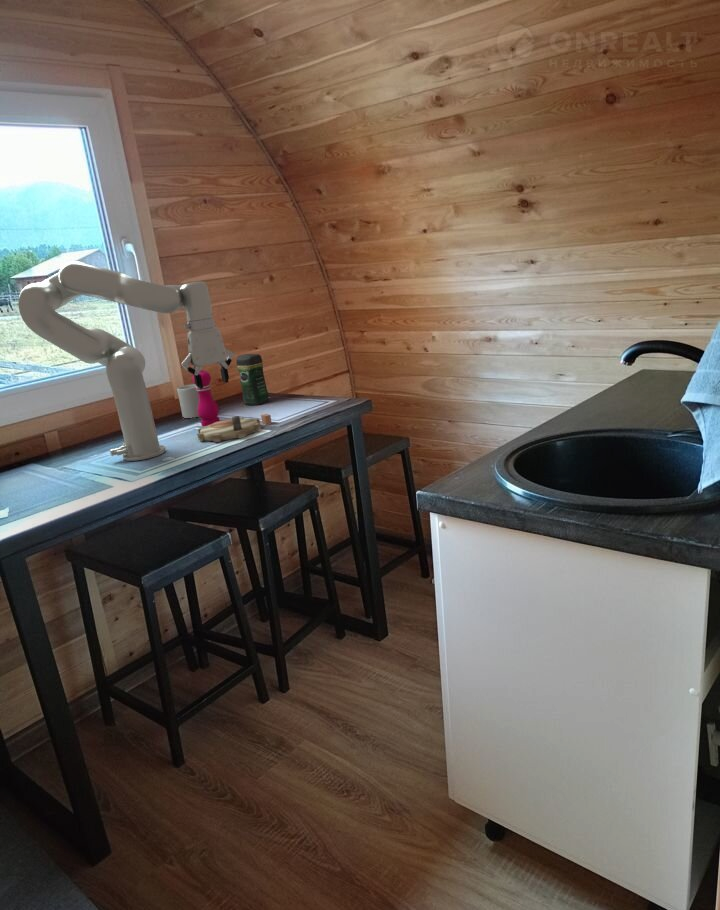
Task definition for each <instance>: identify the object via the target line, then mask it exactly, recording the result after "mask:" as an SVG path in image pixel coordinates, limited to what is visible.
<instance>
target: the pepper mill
mask: <svg viewBox="0 0 720 910" xmlns="http://www.w3.org/2000/svg"><path fill="white" fill-rule="evenodd" d="M199 375H201V378H202V383H203V388H198V387H197V386H196V390H197V391H198V394H199V405H198V416H199V418H200V419H201V420H200V424H201V426H202V427H204V426H208V425H211V424H213V423H214V422H218V421H221V420H220V417H219V416H218V415H219V413H220V409H219V406H218V404H217V403H216V400H215V399H214V398H213V396H212V393H211V389H212V386H211V383H210V382H211V381H212V378H211V377H212V376H211V374H210V372H208V371H207V370H203V366H201V368H200V371H199ZM192 382H193V384H195V379H194V375H193V374H192ZM195 385H196V384H195Z"/></svg>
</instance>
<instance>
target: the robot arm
mask: <svg viewBox="0 0 720 910" xmlns="http://www.w3.org/2000/svg"><path fill="white" fill-rule="evenodd" d="M209 293H210V292H209V287H208V284H207V283H206V282H205V281H193V282H192V281H191V282H188V283H184V284H166V285H161V284H158V283H157V284H156V283H152V282H149V281H145V280H142V279H136V278H134V277H131V276H130V275H128V274H126V273H124V272H120V271H119V270H118V271H117V270H113V269H108V268H104V267H99V266H94V265H90V264H88V263H87V262H83V261H68V262H66V263H64V264H63V265H62V266H61V267H60V269H59V271H58V272H57V273H55V274H54V275H52V276H50V277H48V278H46V279H44V280H43V281H41V282H33V283H29V284H28V285H26V286H25V287H24V288H23V289H22V290H21V291H20V294H19V295H18V303H17V304H18V305H17V306H18V310H19V314H20V318H21V319H22V321H23V322H24V324H25V325H26V326H27V328H28V329H30V331H31V332H33V333H35V335H37V336H38V337H40V338H42V339H43V340H45V341H47V342H49V343H50V344H53V345H54V346H56V348H59V349H61V350H62V351H64V352H66V353H68V354H69V355H71V356H73V357H75V358H76V359H78V360H79V361H81V362H83V363H85V364H97V363H98V364H100V365H102V366H104V367H105V369H106V376H107V380H108V382H109V385H110V386H109V387H110V388H111V391H112V396H113V398H114V399H113V400H114V403H115V406H116V410H117V416H118V419H119V424H120V428H121V432H122V436H123V440H124V442H122V445H120V446H119V447H117V448H116V447H115V448H112V449H109V453H110V455H111V457H114V456H122V458H123V460H124V461H128V462H135V461H136V462H138V461H142V460H143V461H144V460H148V459H151V458H155V457H157V456H161V455H163V454H164V453H165V452H166V450H167V449H166V446H165V445H162V444H160V441H159V438H158V437H159V436H158V433H157V428H156V423H155V420H154V415H153V410H152V406H151V403H150V399H149V393H148V389H147V387H146V382H145V379H144V375H143V373H144V371H145V367H146V358H145V356H144V355H143V353H142V352H141V351H140V350H139V349H137V348H136V347H135V346H133V345H131V344H129V343H127V342H125V341H123V340H122V339H120V338H118V337H117V336H115V335H113V334H111V333H110V332H108V331H106V330H104V329H101V328H96V327H92V328H91V327H90V328H86V327H84V326H82V325H80V324H79V323H78V322H77V323H76V322H75V321H73V320H72V319H70V318H69V317H66V316H64V315H62V314H60V313H59V312H57V311H56V310H58V309H60V308H62V307H63V306H65V305H67V304H68V303H70V302H72V301H74V300H76V299H77V298H78V297H80V296H85V297H92V298H96V299H101V300H103V301H109V302H114V303H116V304H120V305H125V306H130V307H134V308H138V309H142V310H147V311H151V312H155V313H160V314H173V313H175V312H177V311H178V310H181V309H184V311H185V317H186V323H185V324H183V329H184V330H188V332H187V348H188V349H187V350H188V354H187V356H186V357H185V358H184V359H183V360H182V362H181V364H180V365H181V366H182V367H183V368H184V369H185V370H186V371H187V372H189V373H190V374H192V376H193V375H194V379H195V384H196V386H197V387H198V388H203V383H202V378H201V375H199V371H200V368H201V367H205V366H209V365H215V364H218V365H219V366H220V370H219V371H220V376H221V381H222V382H223V383H229V378H230V376H229V371H228V369H229V366H230V364H231V363H232V360H233V359H234V356H235V353H234V352H232V351H231V350H229V349H227V348H226V346H225V344H224V340H223V336H222V334H221V331H220V328H219V327H216V325H215V320H214V314H213V309H212V303H211V297H210V294H209ZM189 363H190V365H192V366H193V367H191V366H190V365H189Z"/></svg>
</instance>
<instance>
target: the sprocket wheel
mask: <svg viewBox="0 0 720 910" xmlns="http://www.w3.org/2000/svg"><path fill="white" fill-rule="evenodd" d="M260 430H262V427H261V421H260V418H258V417H256V418H250V417H249V418H247V417H240V415H236V416H232V417H231V419H227V420H225V419H224V420H220V421H218V422H214V423H213V424H211V425H208V426H206V427H204V426H202V427H200V428H198V429H197V431H198V433H196V436H197V439H198V441H200V442H201V441H202V442H203V441H210V442H211V441H213V442H214V443H216V442H218V443H219V442H221V441H225V440H232V439H236V438H238V439H240V438H245V437H246V436H247V435H250V434H252V433H255V432H259V431H260Z"/></svg>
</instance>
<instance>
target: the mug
mask: <svg viewBox="0 0 720 910" xmlns="http://www.w3.org/2000/svg"><path fill="white" fill-rule="evenodd" d="M176 391H177V395H178V400H179V404H180V409H181V414H182V415H181V416H182V418H183V417H184V418H192V417H198V405H199V394H198V391H197V390H196V385H195V384H194V383H192V384H187V385H182V386H179V387H177V388H176ZM184 418H183V419H184Z"/></svg>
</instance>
